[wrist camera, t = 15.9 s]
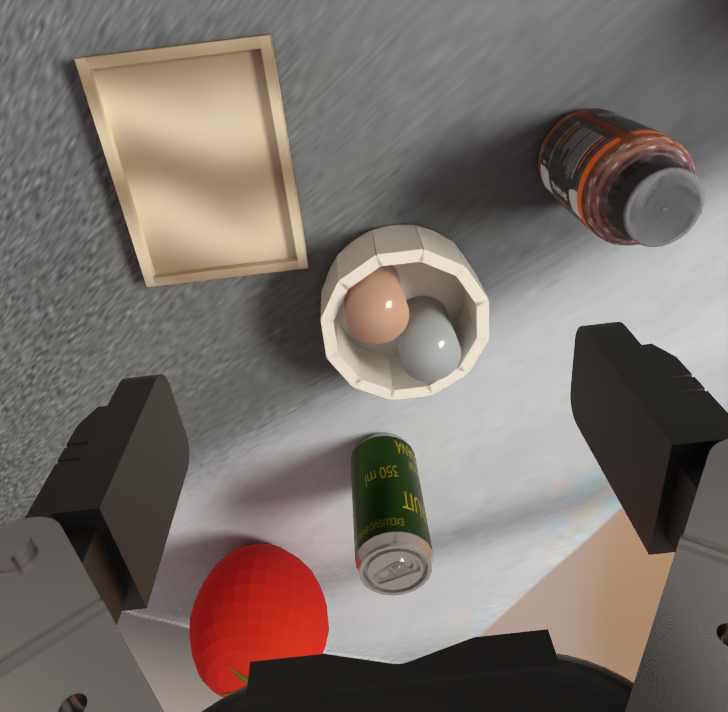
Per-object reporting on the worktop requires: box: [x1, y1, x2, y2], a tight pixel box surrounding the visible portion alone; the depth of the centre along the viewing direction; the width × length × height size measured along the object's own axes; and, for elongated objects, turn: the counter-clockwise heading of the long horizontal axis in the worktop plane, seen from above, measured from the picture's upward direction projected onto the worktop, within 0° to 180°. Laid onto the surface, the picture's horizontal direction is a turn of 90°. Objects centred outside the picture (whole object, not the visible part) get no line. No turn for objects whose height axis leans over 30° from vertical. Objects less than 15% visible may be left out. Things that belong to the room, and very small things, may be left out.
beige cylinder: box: [344, 265, 409, 344], centre depth 40 cm, size 4×4×5 cm
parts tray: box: [74, 34, 309, 287], centre depth 38 cm, size 14×11×1 cm
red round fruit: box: [190, 544, 329, 697], centre depth 52 cm, size 11×11×13 cm
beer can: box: [351, 433, 433, 595], centre depth 46 cm, size 5×5×12 cm
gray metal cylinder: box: [396, 296, 461, 382], centre depth 42 cm, size 4×4×5 cm
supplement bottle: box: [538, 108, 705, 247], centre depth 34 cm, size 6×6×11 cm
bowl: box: [321, 224, 489, 400], centre depth 42 cm, size 11×11×5 cm
